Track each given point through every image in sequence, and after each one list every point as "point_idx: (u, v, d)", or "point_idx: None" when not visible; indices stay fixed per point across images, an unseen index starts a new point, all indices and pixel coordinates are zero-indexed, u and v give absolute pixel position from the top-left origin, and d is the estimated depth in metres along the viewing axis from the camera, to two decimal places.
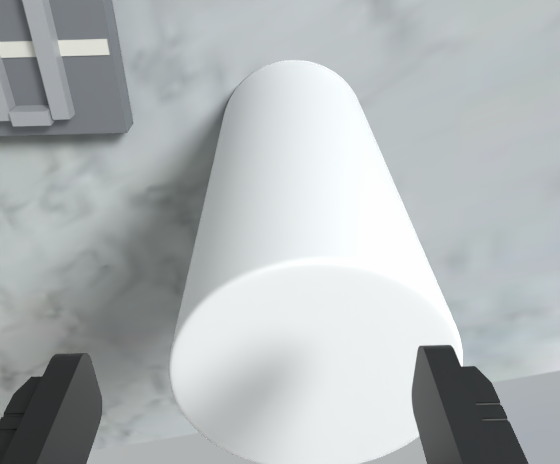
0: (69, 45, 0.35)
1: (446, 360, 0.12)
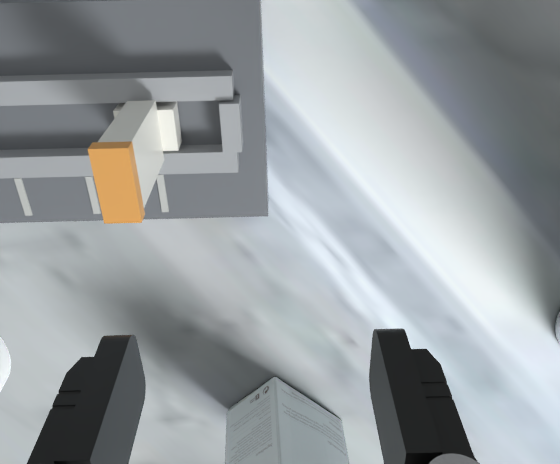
0: None
1: (397, 342, 0.12)
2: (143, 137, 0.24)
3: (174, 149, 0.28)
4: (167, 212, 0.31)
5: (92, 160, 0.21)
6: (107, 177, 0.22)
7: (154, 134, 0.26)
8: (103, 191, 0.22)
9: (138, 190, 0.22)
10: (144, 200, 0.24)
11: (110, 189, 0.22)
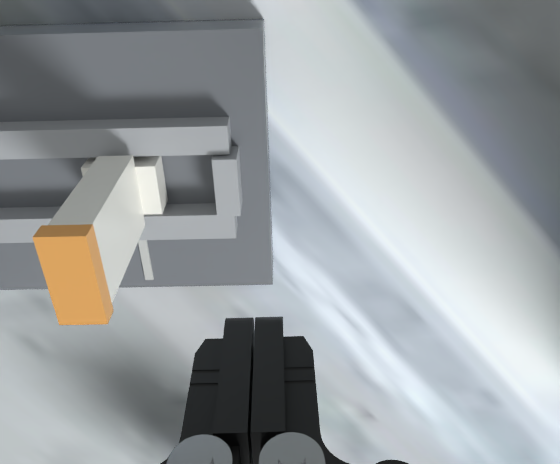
0: None
1: (271, 329, 0.13)
2: (113, 209, 0.19)
3: (157, 212, 0.23)
4: (152, 280, 0.26)
5: (39, 251, 0.16)
6: (60, 271, 0.17)
7: (130, 199, 0.21)
8: (55, 288, 0.17)
9: (102, 283, 0.17)
10: (113, 290, 0.19)
11: (65, 285, 0.17)
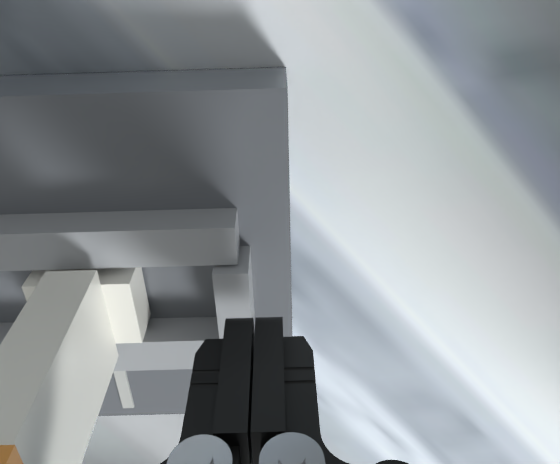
0: None
1: (271, 329, 0.13)
2: (60, 380, 0.12)
3: (135, 341, 0.16)
4: (132, 407, 0.20)
5: None
6: None
7: (93, 337, 0.14)
8: None
9: None
10: None
11: None
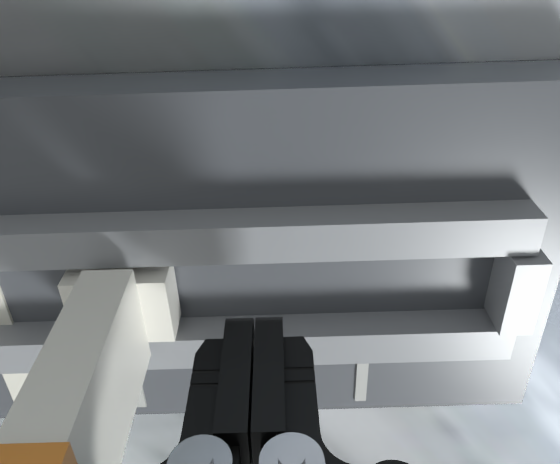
0: None
1: (271, 329, 0.13)
2: (104, 378, 0.12)
3: (168, 339, 0.16)
4: (362, 400, 0.20)
5: None
6: None
7: (130, 336, 0.14)
8: None
9: None
10: None
11: None
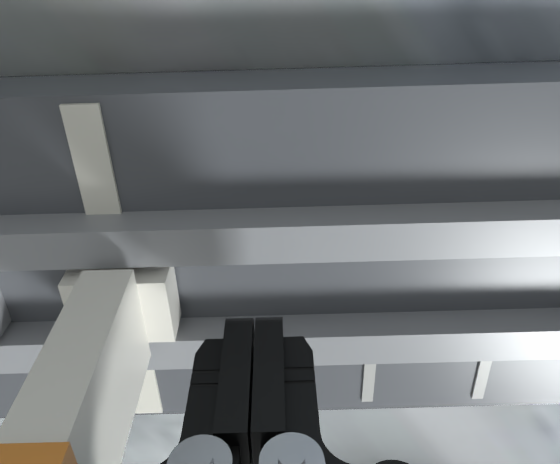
0: None
1: (271, 329, 0.13)
2: (104, 378, 0.12)
3: (168, 340, 0.16)
4: (479, 398, 0.20)
5: None
6: None
7: (130, 336, 0.14)
8: None
9: None
10: None
11: None
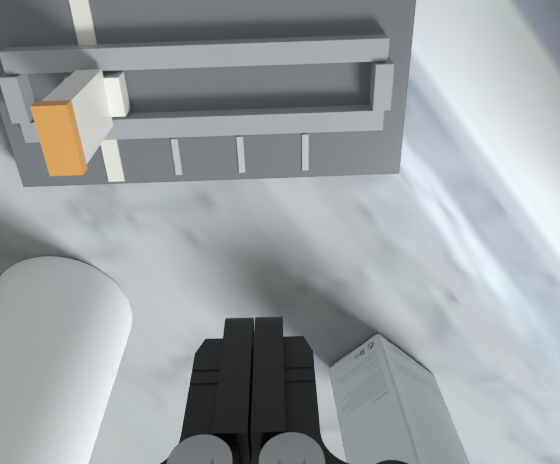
0: (111, 143, 0.33)
1: (271, 329, 0.13)
2: (86, 99, 0.26)
3: (122, 115, 0.30)
4: (307, 170, 0.34)
5: (35, 116, 0.24)
6: (49, 132, 0.24)
7: (100, 99, 0.29)
8: (46, 146, 0.25)
9: (79, 144, 0.25)
10: (87, 156, 0.26)
11: (52, 143, 0.24)
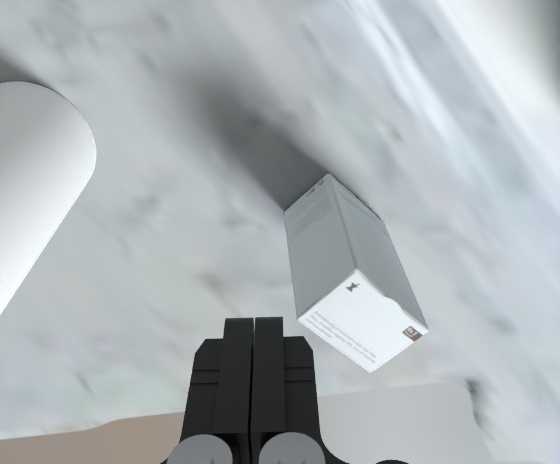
0: None
1: (271, 329, 0.13)
2: None
3: None
4: None
5: None
6: None
7: None
8: None
9: None
10: None
11: None
